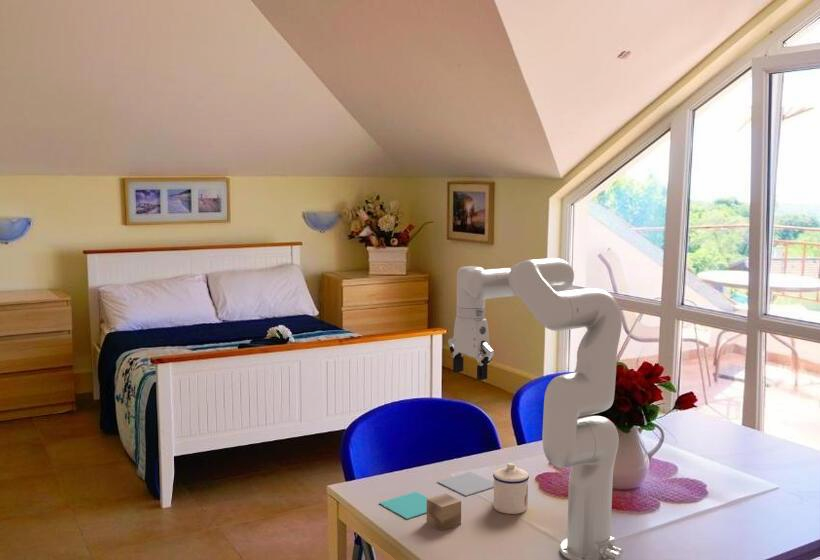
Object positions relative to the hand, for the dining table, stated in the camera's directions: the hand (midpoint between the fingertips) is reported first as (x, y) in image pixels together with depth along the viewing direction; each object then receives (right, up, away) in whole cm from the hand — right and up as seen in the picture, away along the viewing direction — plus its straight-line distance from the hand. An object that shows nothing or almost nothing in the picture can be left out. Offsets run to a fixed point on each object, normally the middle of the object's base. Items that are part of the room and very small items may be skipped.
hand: (469, 375), depth 224 cm
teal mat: (-16, -32, -10) cm, 37 cm away
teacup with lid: (+9, -33, -9) cm, 35 cm away
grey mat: (0, -30, +5) cm, 31 cm away
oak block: (-8, -34, -20) cm, 40 cm away
